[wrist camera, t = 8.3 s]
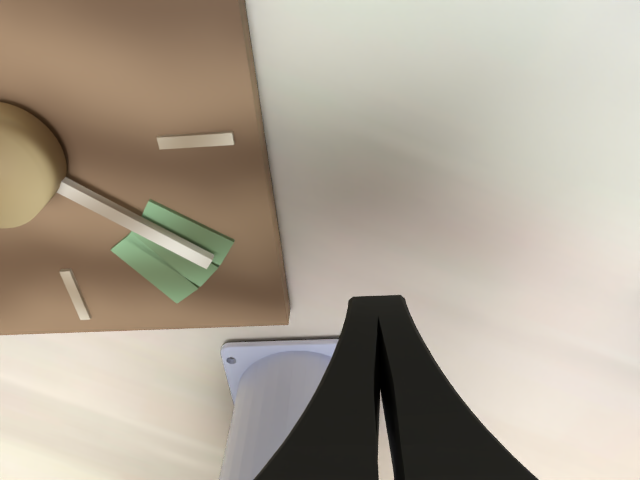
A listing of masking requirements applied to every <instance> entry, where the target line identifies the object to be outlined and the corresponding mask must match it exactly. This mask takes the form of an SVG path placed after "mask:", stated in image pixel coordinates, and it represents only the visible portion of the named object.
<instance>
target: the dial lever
mask: <svg viewBox="0 0 640 480" xmlns="http://www.w3.org/2000/svg"><path fill="white" fill-rule="evenodd" d="M56 193H59V194H61V195H63V196H65V197H67V198H69V199H70V200H72V201H74V202H76V203H78V204H80V205H82V206H84V207H86V208H88V209H90V210H92V211H94V212H96V213H98V214H100V215H102V216H104V217H106V218H108V219H109V220H111V221H113V222H115V223H117V224H119V225H121V226H123V227H125V228H127V229H129V230H131V231H133V232H135V233H137V234H139V235H141V236H143V237H145V238H147V239H148V240H150V241H152V242H154V243H156V244H158V245H160V246H162V247H164V248H166V249H168V250H170V251H172V252H174V253H176V254H178V255H180V256H182V257H184V258H186V259H187V260H189V261H191V262H193V263H195V264H197V265H199V266H201V267H203V268H205V269H207V268H208V266H209V265H210V263H211V262H212V260H213V258H214V254H212V253H210V252H208V251H206V250H204V249H202V248H200V247H198V246H196V245H195V244H193V243H191V242H189V241H187V240H185V239H183V238H181V237H179V236H177V235H175V234H174V233H172V232H170V231H168V230H166V229H164V228H162V227H160V226H158V225H156V224H154V223H152V222H151V221H149V220H147V219H145V218H143V217H141V216H139V215H137V214H135V213H133V212H131V211H130V210H128V209H126V208H124V207H122V206H120V205H118V204H116V203H114V202H112V201H110V200H109V199H107V198H105V197H103V196H101V195H99V194H97V193H95V192H93V191H91V190H89V189H88V188H86V187H84V186H82V185H80V184H78V183H76V182H74V181H72V180H70V179H68V178H67V177H66V159H65V156H64V152H63V150H62V148H61V145H60V144H59V142H58V140H57V138H56V137H55V136H54V134H53V133H52V132H51V131H50V130H49V128H48V127H47V126H46V125H45V124H43V123H42V122H41V121H40V120H39V119H38V118H36V117H35V116H34V115H32V114H30V113H29V112H27V111H25V110H23V109H21V108H19V107H16V106H14V105H11V104H7V103H3V102H0V228H14V227H18V226H21V225H23V224H26V223H27V222H29V221H31V220H32V219H33V218H34V217H35V216H36V215H37V214H38V213H39V212H40V211H41V210H42V208H43V207H44V206H45V205H46V204H47V203H48V202H49V201H50V200H51V199H52V197H53V196H54V195H55V194H56Z"/></svg>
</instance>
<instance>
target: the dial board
mask: <svg viewBox="0 0 640 480" xmlns="http://www.w3.org/2000/svg"><path fill="white" fill-rule="evenodd" d="M0 102H3V103H7V104H11V105H14V106H16V107H19V108H21V109H23V110H25V111H27V112H29V113H30V114H32V115H34V116H35V117H36V118H38V119H39V120H40V121H41V122H42V123H43V124H45V125H46V126H47V127H48V128H49V130H50V131H51V132H52V133H53V134H54V136H55V137H56V138H57V140H58V142H59V144H60V145H61V148H62V150H63V152H64V156H65V159H66V177H67V178H68V179H70V180H72V181H74V182H76V183H78V184H80V185H82V186H84V187H86V188H88V189H89V190H91V191H93V192H95V193H97V194H99V195H101V196H103V197H105V198H107V199H109V200H110V201H112V202H114V203H116V204H118V205H120V206H122V207H124V208H126V209H128V210H130V211H131V212H133V213H135V214H137V215H139V216H141V217H143V218H145V219H147V220H149V221H151V222H152V223H154V224H156V225H158V226H160V227H162V228H164V229H166V230H168V231H170V232H172V233H174V234H175V235H177V236H179V237H181V238H183V239H185V240H187V241H189V242H191V243H193V244H195V245H196V246H198V247H200V248H202V249H204V250H206V251H208V252H210V253H212V254H214V258H213V260H212V262H211V263H210V265H209V266H208V268H207V269H205V268H203V267H201V266H199V265H197V264H195V263H193V262H191V261H189V260H187V259H186V258H184V257H182V256H180V255H178V254H176V253H174V252H172V251H170V250H168V249H166V248H164V247H162V246H160V245H158V244H156V243H154V242H152V241H150V240H148V239H147V238H145V237H143V236H141V235H139V234H137V233H135V232H133V231H131V230H129V229H127V228H125V227H123V226H121V225H119V224H117V223H115V222H113V221H111V220H109V219H108V218H106V217H104V216H102V215H100V214H98V213H96V212H94V211H92V210H90V209H88V208H86V207H84V206H82V205H80V204H78V203H76V202H74V201H72V200H70V199H69V198H67V197H65V196H63V195H61V194H59V193H56V194H55V195H54V196H53V197H52V199H51V200H50V201H49V202H48V203H47V204H46V205H45V206H44V207H43V208H42V210H41V211H40V212H39V213H38V214H37V215H36V216H35V217H34V218H33V219H32V220H31V221H29V222H27V223H26V224H23V225H21V226H18V227H14V228H0V335H17V334H45V333H73V332H101V331H128V330H156V329H184V328H212V327H240V326H268V325H288V323H289V315H290V303H289V296H288V290H287V283H286V276H285V269H284V263H283V256H282V249H281V242H280V236H279V229H278V222H277V215H276V209H275V202H274V195H273V188H272V182H271V175H270V168H269V161H268V155H267V148H266V141H265V135H264V128H263V121H262V114H261V108H260V101H259V94H258V87H257V81H256V74H255V67H254V60H253V54H252V47H251V40H250V33H249V27H248V20H247V13H246V6H245V0H0Z"/></svg>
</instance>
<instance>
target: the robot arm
mask: <svg viewBox="0 0 640 480" xmlns="http://www.w3.org/2000/svg"><path fill="white" fill-rule="evenodd" d="M221 357H222V361H223V365H224V369H225V372H226V376H227V380H228V384H229V388H230V392H231V396H232V400H233V403H234V409H233V414H232V419H231V424H230V429H229V434H228V438H227V443H226V448H225V453H224V458H223V463H222V467H221V472H220V477H219V480H379V478H378V435H379V409H380V390H381V396H382V402H383V409H384V415H385V421H386V427H387V433H388V440H389V446H390V452H391V458H392V464H393V472H394V480H538V479H537V478H536V477H535V476H534V475H533V474H532V473H531V472H530V471H528V470H527V469H526V468H525V467H524V466H523V465H522V464H521V463H520V462H519V461H518V460H517V459H516V458H515V457H514V456H513V455H512V454H511V453H510V452H509V451H508V450H507V449H506V448H505V447H504V446H503V445H502V444H501V443H500V442H499V441H498V440H497V439H496V438H495V437H494V436H493V435H492V434H491V433H490V432H489V431H488V430H487V428H486V427H485V426H484V425H483V424H482V423H481V422H480V420H479V419H478V418H477V417H476V416H475V415H474V413H473V412H472V411H471V410H470V409H469V407H468V406H467V405H466V404H465V402H464V401H463V400H462V398H461V397H460V396H459V395H458V393H457V392H456V391H455V389H454V388H453V386H452V385H451V384H450V382H449V381H448V379H447V378H446V376H445V375H444V373H443V372H442V370H441V369H440V367H439V366H438V364H437V363H436V361H435V360H434V358H433V356H432V355H431V353H430V351H429V349H428V348H427V346H426V344H425V343H424V341H423V339H422V337H421V335H420V334H419V332H418V330H417V328H416V326H415V324H414V321H413V319H412V317H411V315H410V312H409V310H408V307H407V305H406V301H405V298H403V297H402V296H401V295H389V296H361V297H352V298H351V299H350V300H349V302H348V309H347V314H346V318H345V322H344V325H343V328H342V332H341V335H340V337H339V339H321V340H291V341H261V342H232V343H225V344H224V345H223V346H222V348H221ZM229 357H233V358H234V359H232V358H229Z"/></svg>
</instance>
